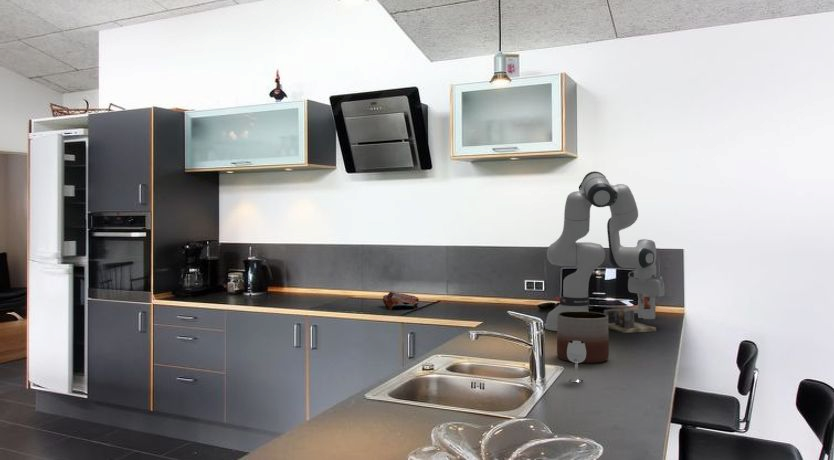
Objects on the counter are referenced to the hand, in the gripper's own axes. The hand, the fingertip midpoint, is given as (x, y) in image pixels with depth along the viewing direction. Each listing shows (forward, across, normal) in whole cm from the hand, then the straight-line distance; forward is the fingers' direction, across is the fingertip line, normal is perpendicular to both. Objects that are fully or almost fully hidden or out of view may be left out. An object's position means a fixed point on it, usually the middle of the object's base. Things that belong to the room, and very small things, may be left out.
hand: (645, 304), depth 282 cm
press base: (+10, -4, +12) cm, 16 cm away
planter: (+11, -44, +68) cm, 82 cm away
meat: (+10, +98, +84) cm, 130 cm away
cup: (+10, +18, -17) cm, 27 cm away
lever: (+5, 0, +10) cm, 11 cm away
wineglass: (+11, -68, +89) cm, 113 cm away
